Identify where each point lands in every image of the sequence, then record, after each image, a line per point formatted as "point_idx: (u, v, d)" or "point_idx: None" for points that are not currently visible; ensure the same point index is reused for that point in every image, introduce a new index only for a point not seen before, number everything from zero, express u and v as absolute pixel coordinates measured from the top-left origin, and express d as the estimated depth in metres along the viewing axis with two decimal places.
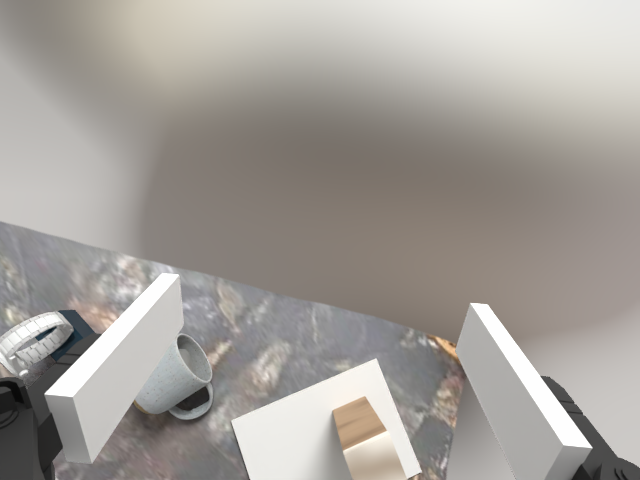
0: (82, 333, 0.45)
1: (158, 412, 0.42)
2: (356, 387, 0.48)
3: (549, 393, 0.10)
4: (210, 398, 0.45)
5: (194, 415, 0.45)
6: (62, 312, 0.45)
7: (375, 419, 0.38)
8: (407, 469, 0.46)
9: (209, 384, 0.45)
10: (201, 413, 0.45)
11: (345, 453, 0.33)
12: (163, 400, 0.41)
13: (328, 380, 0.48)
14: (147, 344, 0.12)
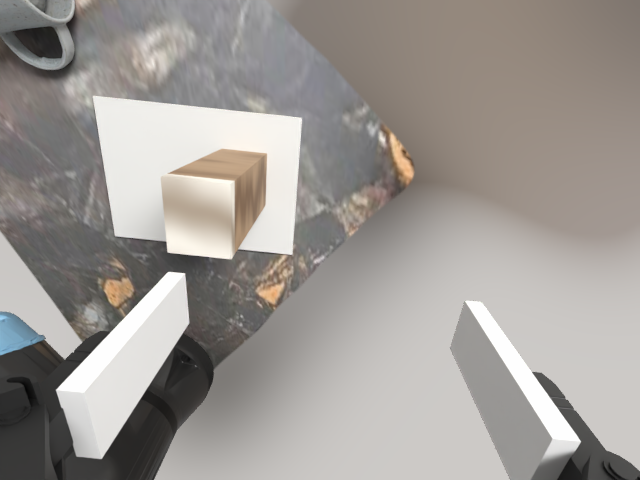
0: None
1: None
2: (260, 138, 0.36)
3: (540, 388, 0.10)
4: (63, 52, 0.32)
5: (42, 65, 0.33)
6: None
7: (242, 169, 0.28)
8: (278, 245, 0.41)
9: (63, 31, 0.31)
10: (52, 67, 0.33)
11: (164, 176, 0.24)
12: None
13: (230, 111, 0.35)
14: (154, 342, 0.13)
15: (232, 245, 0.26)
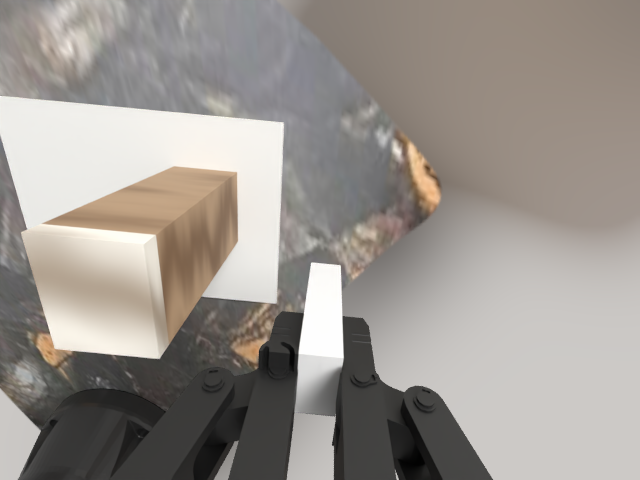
0: None
1: None
2: (227, 152, 0.26)
3: (340, 324, 0.12)
4: None
5: None
6: None
7: (184, 206, 0.18)
8: (257, 292, 0.31)
9: None
10: None
11: (30, 230, 0.14)
12: None
13: (182, 115, 0.25)
14: None
15: (160, 336, 0.16)
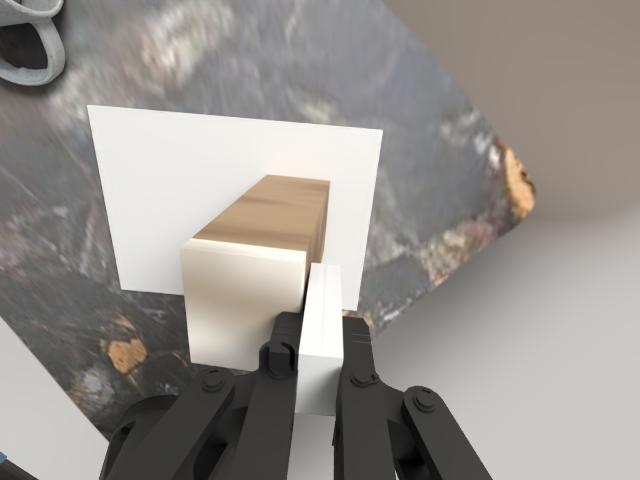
0: None
1: None
2: (322, 160, 0.26)
3: (339, 324, 0.12)
4: (49, 60, 0.22)
5: (20, 79, 0.23)
6: None
7: (309, 219, 0.18)
8: None
9: (48, 29, 0.21)
10: (34, 82, 0.23)
11: (186, 246, 0.14)
12: None
13: (280, 123, 0.25)
14: None
15: None
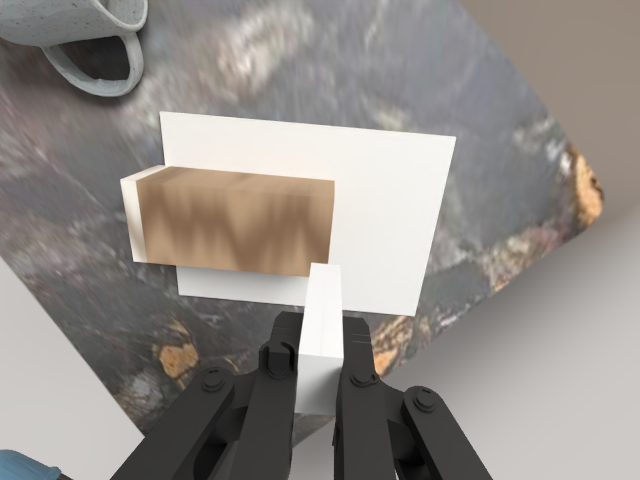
0: None
1: (3, 34, 0.19)
2: (392, 166, 0.26)
3: (339, 324, 0.12)
4: (131, 72, 0.22)
5: (99, 90, 0.23)
6: None
7: (197, 184, 0.22)
8: (398, 305, 0.30)
9: (133, 42, 0.21)
10: (112, 93, 0.23)
11: (159, 165, 0.26)
12: (3, 5, 0.17)
13: (353, 130, 0.25)
14: None
15: (137, 249, 0.24)
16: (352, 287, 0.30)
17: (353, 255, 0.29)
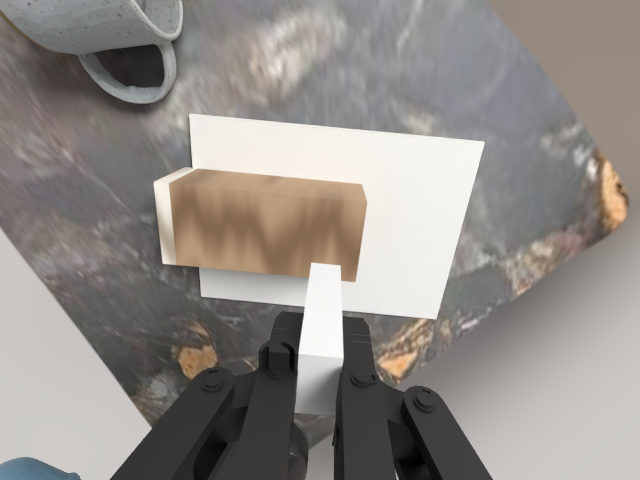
0: None
1: (44, 42, 0.19)
2: (420, 171, 0.26)
3: (340, 324, 0.12)
4: (165, 80, 0.22)
5: (131, 97, 0.24)
6: None
7: (230, 187, 0.22)
8: (420, 308, 0.31)
9: (169, 50, 0.22)
10: (144, 100, 0.24)
11: (187, 167, 0.26)
12: (49, 15, 0.17)
13: (382, 134, 0.25)
14: None
15: (167, 251, 0.24)
16: (375, 290, 0.30)
17: (377, 258, 0.29)
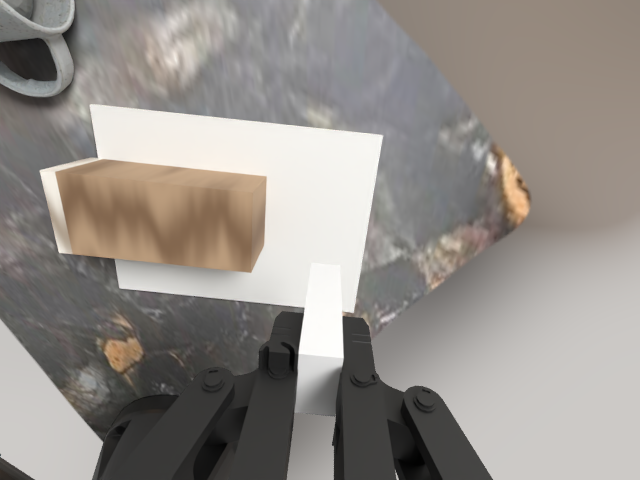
0: None
1: None
2: (322, 163, 0.26)
3: (339, 324, 0.12)
4: (58, 73, 0.23)
5: (29, 90, 0.24)
6: None
7: (118, 176, 0.22)
8: None
9: (58, 44, 0.22)
10: (42, 93, 0.24)
11: (92, 158, 0.26)
12: None
13: (282, 126, 0.25)
14: None
15: (61, 240, 0.24)
16: (290, 283, 0.30)
17: (289, 251, 0.29)
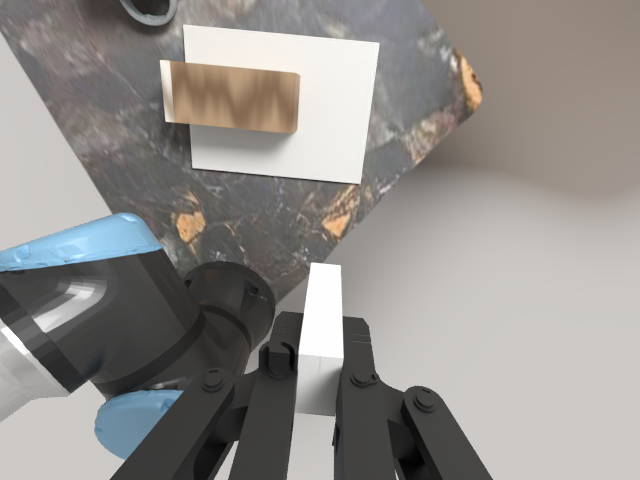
0: None
1: None
2: (338, 65, 0.38)
3: (340, 324, 0.12)
4: (170, 7, 0.35)
5: (148, 21, 0.36)
6: None
7: None
8: (348, 174, 0.43)
9: None
10: (156, 23, 0.36)
11: None
12: None
13: (311, 38, 0.37)
14: None
15: (168, 112, 0.36)
16: (315, 160, 0.42)
17: (315, 134, 0.41)
